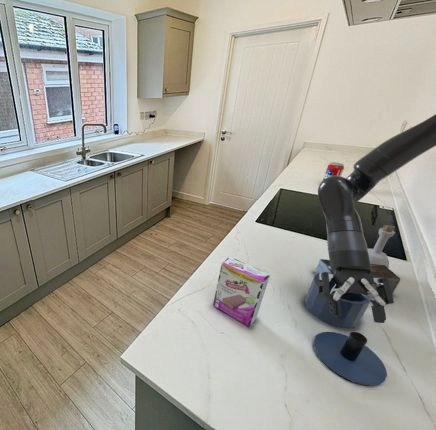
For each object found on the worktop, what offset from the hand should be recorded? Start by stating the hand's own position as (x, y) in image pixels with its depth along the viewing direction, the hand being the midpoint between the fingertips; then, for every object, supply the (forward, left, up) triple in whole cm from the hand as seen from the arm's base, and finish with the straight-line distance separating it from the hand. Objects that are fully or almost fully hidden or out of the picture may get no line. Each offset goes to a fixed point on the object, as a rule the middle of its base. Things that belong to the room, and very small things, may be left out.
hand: (358, 320), depth 61 cm
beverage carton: (+5, -32, -10) cm, 34 cm away
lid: (-1, +2, -10) cm, 10 cm away
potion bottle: (+3, -45, -10) cm, 46 cm away
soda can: (+36, -131, -10) cm, 136 cm away
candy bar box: (+24, +9, -10) cm, 27 cm away
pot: (+6, -13, -10) cm, 17 cm away
